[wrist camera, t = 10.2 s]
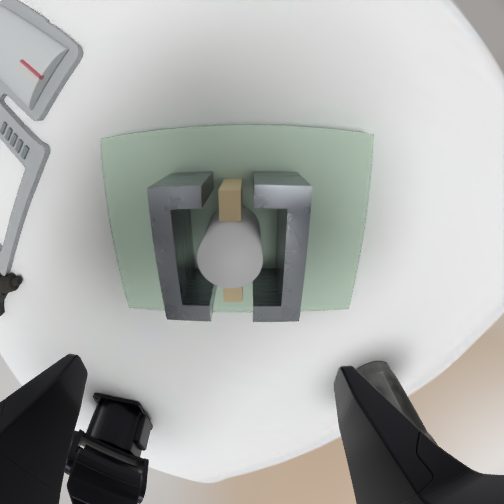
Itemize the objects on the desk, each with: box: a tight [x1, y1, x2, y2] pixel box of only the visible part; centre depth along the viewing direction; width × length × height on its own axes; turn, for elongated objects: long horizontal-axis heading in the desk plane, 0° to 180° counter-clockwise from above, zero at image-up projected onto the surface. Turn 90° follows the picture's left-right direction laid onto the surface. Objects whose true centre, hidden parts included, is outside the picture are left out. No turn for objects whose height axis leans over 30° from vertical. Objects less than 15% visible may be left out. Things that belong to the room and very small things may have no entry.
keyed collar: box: [147, 171, 312, 322], centre depth 14 cm, size 7×7×4 cm
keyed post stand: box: [101, 125, 374, 312], centre depth 15 cm, size 16×12×5 cm
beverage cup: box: [357, 361, 437, 445], centre depth 15 cm, size 7×7×20 cm
